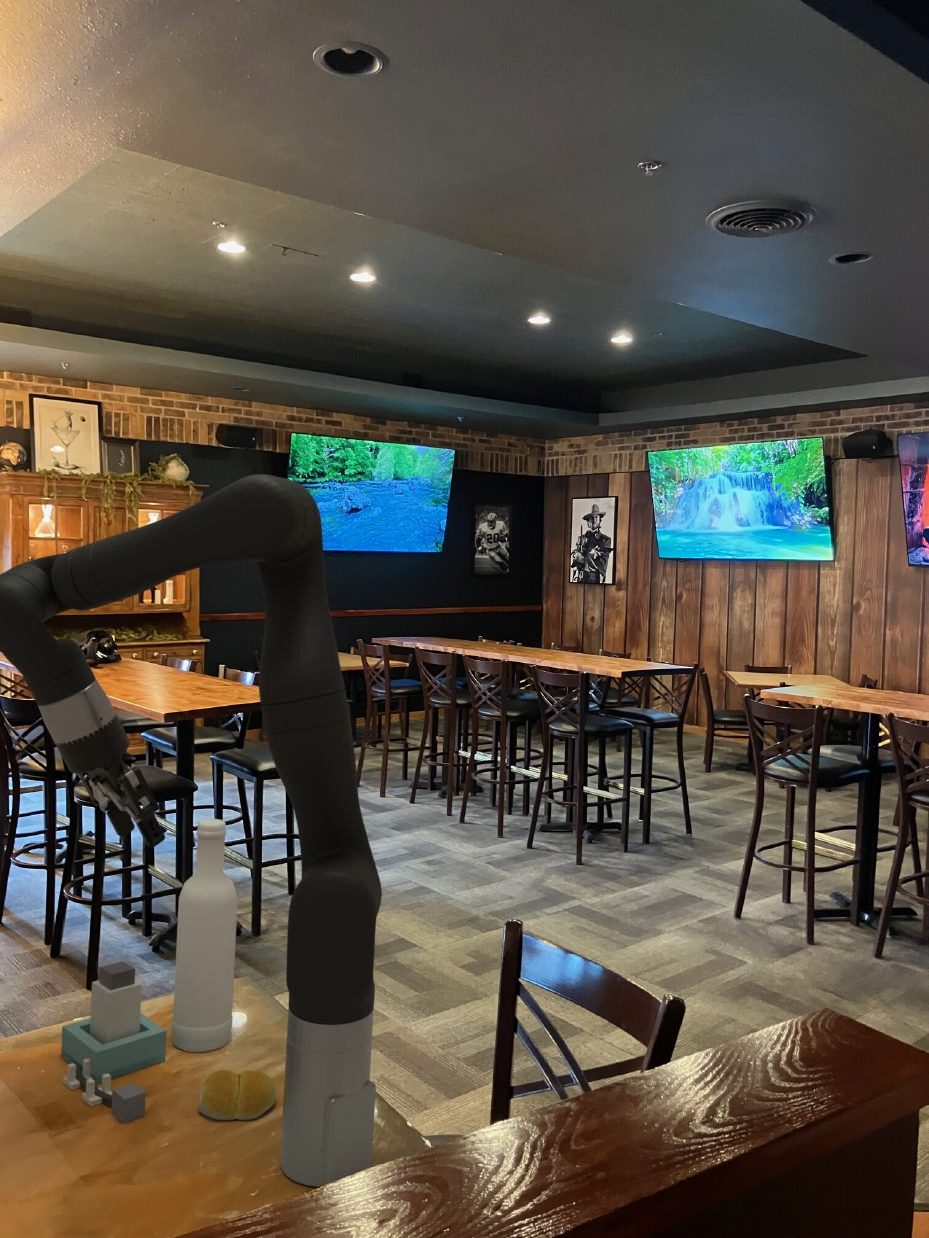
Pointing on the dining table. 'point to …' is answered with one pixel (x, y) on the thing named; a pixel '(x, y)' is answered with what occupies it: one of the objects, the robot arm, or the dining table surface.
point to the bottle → (205, 948)
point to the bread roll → (236, 1095)
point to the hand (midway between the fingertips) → (141, 837)
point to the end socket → (114, 1049)
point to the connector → (115, 1003)
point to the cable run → (107, 1093)
